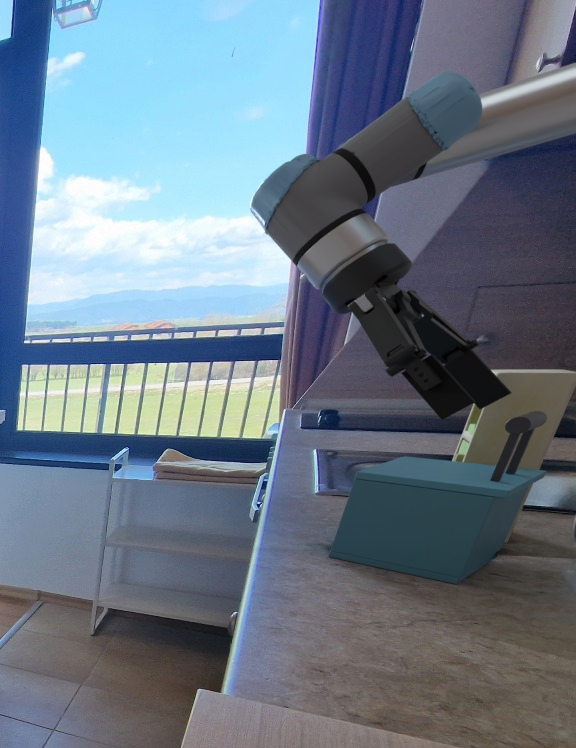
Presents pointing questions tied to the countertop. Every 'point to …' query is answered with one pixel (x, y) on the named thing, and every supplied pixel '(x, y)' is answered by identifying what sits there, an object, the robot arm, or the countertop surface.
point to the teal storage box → (423, 529)
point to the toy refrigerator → (528, 395)
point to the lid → (468, 467)
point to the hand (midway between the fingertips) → (478, 406)
